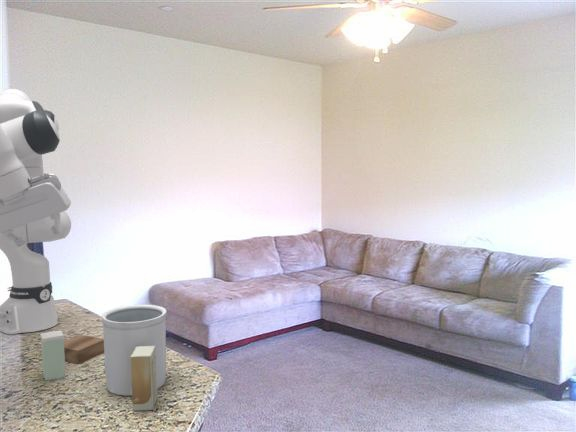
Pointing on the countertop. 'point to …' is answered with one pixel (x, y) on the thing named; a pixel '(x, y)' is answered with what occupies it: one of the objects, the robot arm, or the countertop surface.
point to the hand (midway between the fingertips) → (39, 239)
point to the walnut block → (82, 348)
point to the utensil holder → (132, 343)
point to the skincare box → (144, 378)
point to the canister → (53, 355)
